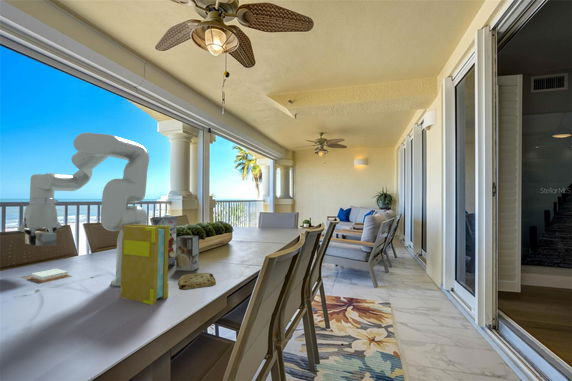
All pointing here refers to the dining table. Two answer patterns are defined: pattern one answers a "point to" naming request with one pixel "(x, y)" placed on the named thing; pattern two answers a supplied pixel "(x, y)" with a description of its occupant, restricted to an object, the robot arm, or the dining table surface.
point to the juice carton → (170, 221)
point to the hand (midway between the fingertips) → (40, 243)
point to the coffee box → (187, 253)
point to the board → (45, 281)
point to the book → (144, 262)
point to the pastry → (196, 280)
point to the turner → (43, 238)
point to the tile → (49, 275)
